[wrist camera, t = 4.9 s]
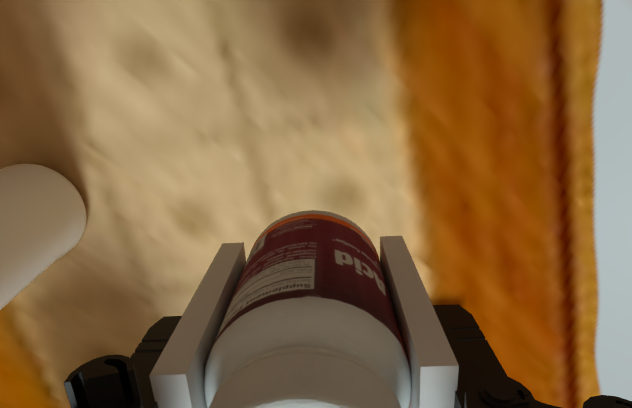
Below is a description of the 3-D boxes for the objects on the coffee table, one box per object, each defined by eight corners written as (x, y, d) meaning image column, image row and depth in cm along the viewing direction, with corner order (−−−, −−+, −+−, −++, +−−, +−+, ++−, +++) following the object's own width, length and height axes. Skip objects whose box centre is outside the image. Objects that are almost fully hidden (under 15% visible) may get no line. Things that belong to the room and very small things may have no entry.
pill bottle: (401, 291, 16) (482, 532, 8) (289, 341, 16) (257, 607, 8) (341, 182, 14) (365, 336, 6) (223, 243, 15) (112, 448, 7)
